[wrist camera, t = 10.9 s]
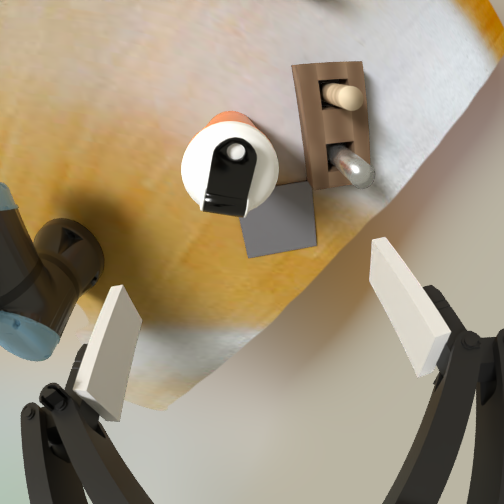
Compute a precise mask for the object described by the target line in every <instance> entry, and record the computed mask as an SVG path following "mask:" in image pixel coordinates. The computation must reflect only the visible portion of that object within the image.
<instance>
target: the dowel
mask: <svg viewBox="0 0 504 504" xmlns="http://www.w3.org/2000/svg"><path fill="white" fill-rule="evenodd" d="M319 91H320V98H321V100H322V101H324V102H327V103H330V104H333V105H336V106H338V107H341V108H344V109H346V110H349V111H355V110H357V109H359V108H360V107H361V106H362V104H363V100H364V98H363V94H362V92H361V91H360V90H359V89H358V88H357V87H354V86H348V85H342V84H335V83H328V82H324V83H321V84H320V85H319Z"/></svg>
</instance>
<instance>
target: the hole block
mask: <svg viewBox="0 0 504 504" xmlns="http://www.w3.org/2000/svg"><path fill="white" fill-rule="evenodd" d="M291 66H292V72H293V78H294V84H295V91H296V97H297V104H298V111H299V118H300V125H301V132H302V140H303V148H304V156H305V164H306V173H307V181H308V182H309V184H310V185H311V187H312V189H313V190H319V189H325V188H331V187H338V186H345V185H352V183H351V182H350V181H349V180H348V179H347V178H346V177H345V176H344V175H343V174H342V173H341V172H340V171H339V170H338V169H337V168H336V167H335V166H334V165H333V164H332V163H328V162H327V151H326V144H331V143H340V142H345V147H347V148H348V149H349V150H351V151H352V152H354V153H355V154H356V155H358V156H359V157H360V158H362V159H363V160H364V161H365V162H367V163H368V164H369V165H370V142H369V125H368V111H367V99H366V89H365V80H364V72H363V64H362V61H353V62H326V63H311V64H299V65H291ZM329 79H339V84H342V85H348V86H354V87H357V88H358V89H359V90H360V91H361V92H362V94H363V98H364V100H363V104H362V106H361V107H360V108H359V109H357V110H355V111H349V110H346V109H344V108H341V107H338V106H336V105H330V106H321V98H320V91H319V84H318V80H329Z"/></svg>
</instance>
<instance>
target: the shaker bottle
mask: <svg viewBox="0 0 504 504" xmlns="http://www.w3.org/2000/svg"><path fill="white" fill-rule="evenodd" d="M181 174H182V179H183V183H184V186H185V188H186V190H187V192H188V193H189V195H190V196H191V198H192V199H193V200H194V201H195V202H196V203H197V204H199V205H200V209H201V211H203V212H210V213H216V214H223V215H229V216H235V217H242V218H243V217H244V218H245V217H246V216H247V214H248V212H249V211H250V210H252V209H254V208H256V207H258V206H259V205H261V204H262V203H263V202H264V201H265V200H266V199H267V198H268V197H269V196H270V194H271V193H272V191H273V190H274V188H275V185H276V183H277V180H278V174H279V163H278V159H277V155H276V152H275V150H274V148H273V146H272V144H271V142H270V140H269V139H268V138H267V137H266V135H265V134H264V133H263V132H261V131H260V130H259V129H258V128H256V127H255V126H254V124H253V123H252V122H251V121H250V119H249V118H248V117H246V116H245V115H244V114H242V113H239V112H236V111H226V112H222V113H220V114H218V115H216V116H215V117H214V118H213V119H212V120H211V121H210V122H209V123H208V124H207V126H206V127H205V128H203V129H202V130H201V131H200V132H198V133H197V134H196V135H195V136H194V138H193V139H192V140H191V141H190V143H189V145H188V147H187V149H186V151H185V154H184V156H183V160H182V167H181Z"/></svg>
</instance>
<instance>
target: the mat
mask: <svg viewBox="0 0 504 504" xmlns="http://www.w3.org/2000/svg"><path fill="white" fill-rule="evenodd" d="M239 219H240V224H241V228H242V233H243V237H244V241H245V246H246V250H247V255H248V258H252V257H257V256H263V255H268V254H274V253H279V252H285V251H290V250H296V249H301V248H306V247H312V246H317V245H316V231H315V218H314V207H313V196H312V187H311V185H310V184H309V182H308V181H302V182H296V183H290V184H284V185H278V186H275V188H274V190H273V191H272V193H271V194H270V196H269V197H268V198H267V199H266V200H265V201H264V202H263V203H262V204H261V205H259V206H258V207H256V208H254V209H252V210H250V211H249V212H248V214H247V216H246V217H245V218H244V217H243V218H242V217H239Z"/></svg>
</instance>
